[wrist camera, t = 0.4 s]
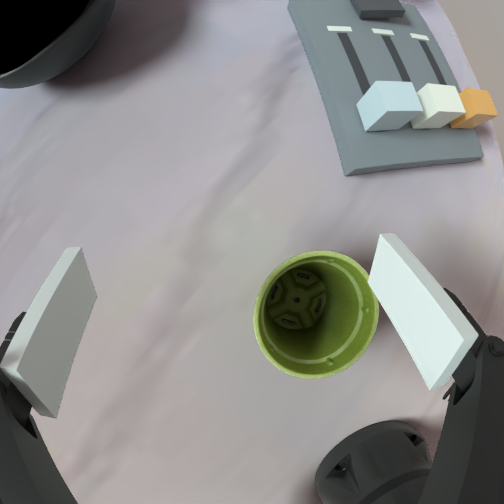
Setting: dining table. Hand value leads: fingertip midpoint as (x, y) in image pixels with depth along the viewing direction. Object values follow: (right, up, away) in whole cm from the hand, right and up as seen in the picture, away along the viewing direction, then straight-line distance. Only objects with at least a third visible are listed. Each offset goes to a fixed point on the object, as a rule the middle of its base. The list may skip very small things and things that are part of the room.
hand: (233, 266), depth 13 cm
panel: (+17, +22, +17) cm, 33 cm away
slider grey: (+13, +14, +14) cm, 24 cm away
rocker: (+16, +31, +12) cm, 37 cm away
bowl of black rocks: (-24, +28, +15) cm, 40 cm away
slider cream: (+19, +15, +14) cm, 28 cm away
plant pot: (+5, -4, +17) cm, 18 cm away
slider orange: (+25, +16, +14) cm, 33 cm away
